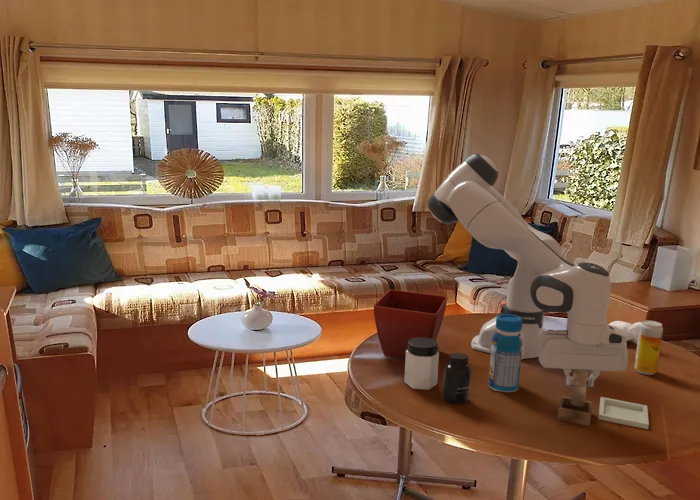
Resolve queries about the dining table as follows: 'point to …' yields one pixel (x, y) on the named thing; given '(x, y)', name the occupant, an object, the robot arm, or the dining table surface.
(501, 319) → the beverage bottle
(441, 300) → the plant pot
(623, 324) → the white low-poly figurine
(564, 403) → the open square box
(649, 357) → the beer can
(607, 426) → the dining table surface
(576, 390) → the dowel
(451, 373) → the supplement bottle
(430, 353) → the jar
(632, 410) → the tray
